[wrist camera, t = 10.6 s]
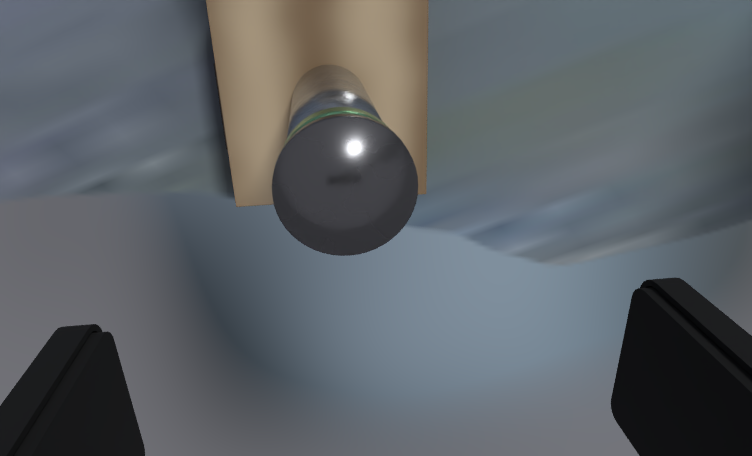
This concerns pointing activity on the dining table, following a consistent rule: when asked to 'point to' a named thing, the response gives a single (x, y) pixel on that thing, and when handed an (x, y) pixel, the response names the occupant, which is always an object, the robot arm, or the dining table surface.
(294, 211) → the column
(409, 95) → the tan flat square block
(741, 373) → the robot arm
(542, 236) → the dining table surface
